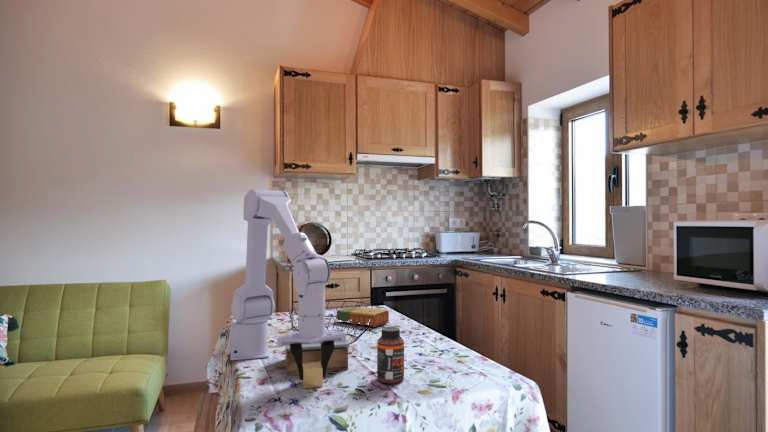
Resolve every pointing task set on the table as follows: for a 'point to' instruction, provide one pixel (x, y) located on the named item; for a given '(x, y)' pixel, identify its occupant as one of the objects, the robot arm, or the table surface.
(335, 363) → the box
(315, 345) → the lid
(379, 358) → the supplement bottle
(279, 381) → the table surface
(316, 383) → the block
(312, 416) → the table surface
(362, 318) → the carton
